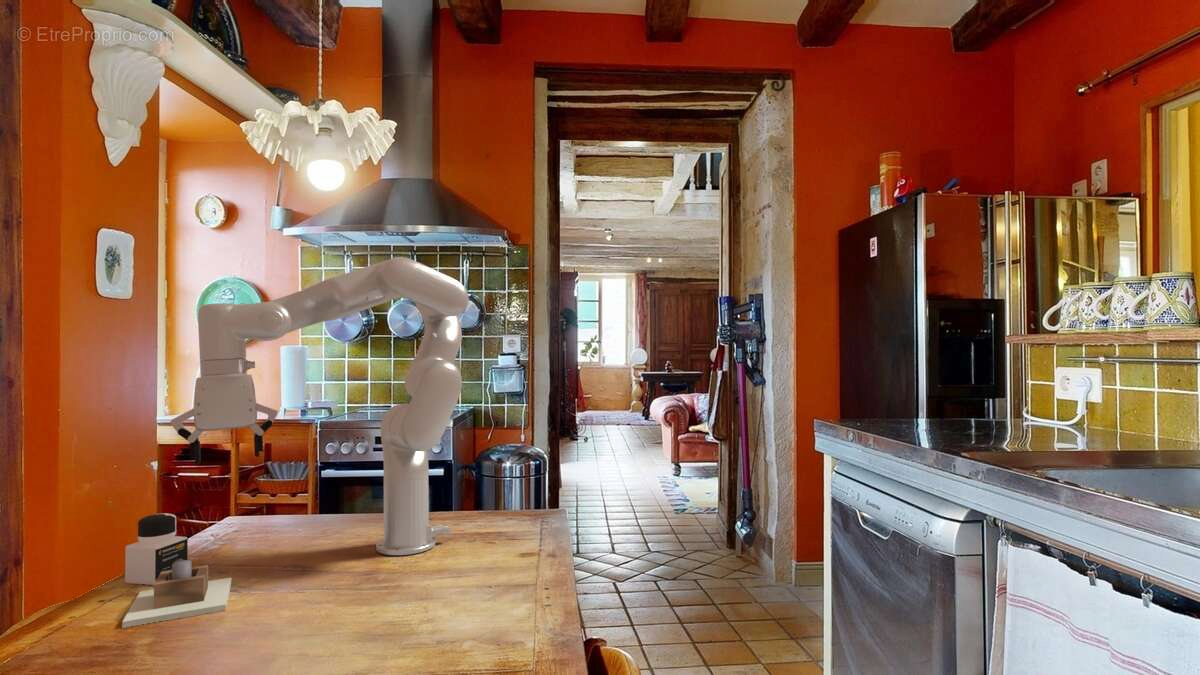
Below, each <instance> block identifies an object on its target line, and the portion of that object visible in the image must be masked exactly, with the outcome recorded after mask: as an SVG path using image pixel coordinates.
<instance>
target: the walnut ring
mask: <svg viewBox="0 0 1200 675" xmlns="http://www.w3.org/2000/svg"><path fill="white" fill-rule="evenodd" d="M208 581H209V565H208V564H206V565H198V566H193V567H192V573H191V577H188V578H181V579H174V580H172V570H169V571H162V572H161V573H160V575H159V577H158V578H157V580H156V582H155V584H154V585H153V589H154V609H158V608H164V607H170V606H176V605H183V604H189V603H195V602H201V601H204V599H205V595H206V592H207V589H208Z"/></svg>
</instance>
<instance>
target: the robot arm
mask: <svg viewBox="0 0 1200 675" xmlns="http://www.w3.org/2000/svg"><path fill="white" fill-rule="evenodd" d="M469 297H470V296H469V292H468V290H467V288H466V287H465V285H463V283H462V282H460V281H459V280H457V279H456V278H454V277H452V276H449V275H447V274H445V273H443V272H441V271H438V270H436V269H435V268H434V269H433V267H429V266H427V265H426V264H424V263H422V262H418V261H416V260H414V259H411V258H409V257H404V256H395V257H393V258H390V259H387V260H384V261H380V262H378V263H375V264H372V265H371V264H370V265H369V266H365V267H362V268H358V269H356V270H353V271H350V272H349V271H348V272H346V273H343V274H340V275H337V276H333V277H330V278H327V279H325V280H322V281H319V282H318V283H316V284H313V285H311V286H309V287H307V288H304V289H302V290H300V291H297V292H293V293H291V294H287V295H285V296H281V297H279V298H275V299H273V300H270V301H263V302H262V301H261V302H255V303H246V304H236V303H207V304H203V305H201V306H200V307H199V308H198V310H197V324H198V325H197V329H198V345H199V346H198V348H199V349H198V350H199V368H200V370H199V372H200V377H196V380H195V385H194V393H193V408H190V410H188V411H185V412H184V413H182V414H180V415H178V416H176V417H174V418H171V420H170V424H171V426H172V428H174V430H175V431H176V433H177V434H178V435H179V436H180V437H181V438H183V439H184V440H186V441H187V442H188V443H189V451H190V460H194V465H199V464H200V463H201V461H202V455H201V454H202V453H201V452H202V451H201V441H200V440H199V437H200V435H202V433H203V432H210V431H211V432H212V431H221V430H222V431H223V430H232V429H241V428H247V427H248V428H250V429H251V431H253V432H254V434H253V442H254V443H253V445H254V456H255V457H256V458H259V457H260V452H264V441H263V436H264V434H265V433H266V432H267V431H268V430H269V429H270V428H271V427H272V426H273V424H274V422H275V420H276V418H277V416H278V410H277V409H273V408H271V407H268V406H266V405H262V404H260V403H257V397H256V391H255V390H256V388H255V384H254V383H255V382H254V379H253V375H252V374H248V371H249V370H251V369H256V361H251V360H247V348H246V347H247V346H246V345H247V344H246V340H254V341H259V342H271V341H275V340H279V339H281V338H282V337H284V336H285V335H286V334H290V333H292V332H295V331H297V330H300V329H303V328H306V327H309V326H313V325H316V324H319V323H323V322H324V323H325V322H330V321H335V320H339V319H342V318H345V317H348V316H351V315H354V314H357V313H360V312H362V311H365V310H368V309H370V308H373V307H376V306H379V305H382V304H384V303H388V302H390V301H392V300H396V299H399V298H403V299H406V300H408V301H411V303H414V304H415V306H416V309H417V311H418V312H419V314H420V317H421V318H422V321H423V323H424V332H423V333H424V334H423V337H422V339H421V342H420V346H419V348H418V349H417V352H416V354H415V356H414V359H413V361H412V363H411V365H410V367H409V369H408V370H407V374H406V375H405V379H404V387H405V390H406V392H407V393H408V394H409V396H411V400H410V401H409V403H398V404H396V405H393V406H392V407H391V408H389V409H388V410H387V411H386V412H385V414H384V415H383V417H382V419H381V423H380V439H381V440H380V441H381V447H382V448H381V449H382V459H383V538H382V539H380V540H379V541H377V543H376V544H375V547H376V551H377V552H378V553H380V554H383V555H387V556H407V555H414V554H420V553H422V552H423V553H424V552H425V551H428V550H430V549H432V548H434V547H435V546H436V545H437V544H436V543H437V542H436V540H437V539H436V538H437V536H439V535H442V536H443V535H450V534H451V526H450V524H446V525H445V524H444V525H442V524H441V523H440V524H436V525H432V524H431V523H430V522H429V521H430V520H429V512H430V511H429V504H430V503H429V472H430V471H429V456H428V455H429V454H428V451H429V450H431V449H432V448H434V447H435V446H436V445H437V444H438V443H439V442H440V441H441V439H442V438H443V435H444V433H445V431H446V429H447V426H448V424H449V422H450V420H451V417H452V415H453V413H454V410H455V408H456V405H457V403H458V400H459V397H460V395H461V392H462V387H463V378H462V374H461V371H460V369H459V368H458V367H457V366H456V365H455V361H456V358H457V356H458V354H459V350H460V347H461V343H462V340H463V339H462V338H463V336H462V334H463V332H462V325H461V322H460V319H459V316H460V315H461V314H462V313H464V311H466V309H467V307H468V305H469V301H470V300H469V299H470V298H469ZM258 412H259V413H261V414H265V415H267V418H266V421H264V423H263V424H261V425H260V424H259V423H258V422H257V420H258ZM190 418H193V426H194V428H195V429H194V430H193V431H192V432H191V431H190V430H188V429H187V428H185V426H184V425H183V422H186V421H187V420H189V419H190Z"/></svg>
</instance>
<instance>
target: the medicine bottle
mask: <svg viewBox="0 0 1200 675" xmlns="http://www.w3.org/2000/svg"><path fill="white" fill-rule="evenodd" d="M137 540H138V541H136V542H134V543H131V544H127V545H126V546H125V552H124V553H125V562H124V564H125V567H124V569H125V571H124V574H125V576H124V579H125V581H124V582H125V584H131V585H142V584H145V585H146V586H154V584H155V582H156V580H157V578H158V577H159V575H160V573H161V572H162V571H169V570H172V564H173V563H175V562H178V561H183V560H188V559H189V558H188V555H189V554H188V552H189V551H188V549H189V548H188V537H187V536H178V535H177V516H176V515H175V514H172V513H167V512H166V513H165V512H164V513H162V512H161V513H156V514H150V515H147V516H144V517H142V518H141V519H139V520H138V522H137ZM145 585H144V586H145Z"/></svg>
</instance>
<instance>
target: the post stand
mask: <svg viewBox="0 0 1200 675" xmlns="http://www.w3.org/2000/svg"><path fill="white" fill-rule="evenodd" d="M192 566H193V565H192V560H189V559H187V560H183V561H178V562H175V563H173V564H172V580H174V579H181V578H188V577H191V573H192ZM232 578H233V577H226V578H219V579H213V580H208V589H207V592H206V595H205V599H204V601H201V602H195V603H189V604H183V605H176V606H170V607H164V608H158V609H154V588H153V589H148V590H140V591H139V593H138V595H137V596H136V598H135V600H134V602H133V603H132V604H131V606H130V608H129V610H128V611H127V613H126V615H125V616H124V618H123V620H122V624H121V628H122V629H126V627H127V628H130V627H131V626H133V627H138V626H143V625H142V624H144V625H148V624H147V623H150V624H154V623H153V622H156V623H160V622H159V621H162V622H166V620H167V621H171V620H179V619H183V618H190V617H195V616H196V617H197V616H201V615H207V613H208V614H213V612H214V613H218V612H219V613H220V612H224V611H226V610H227V606H228V600H229V596H230V591H231V586H232V582H233V581H232ZM178 618H179V619H178ZM137 625H138V626H137ZM131 628H132V627H131Z"/></svg>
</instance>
